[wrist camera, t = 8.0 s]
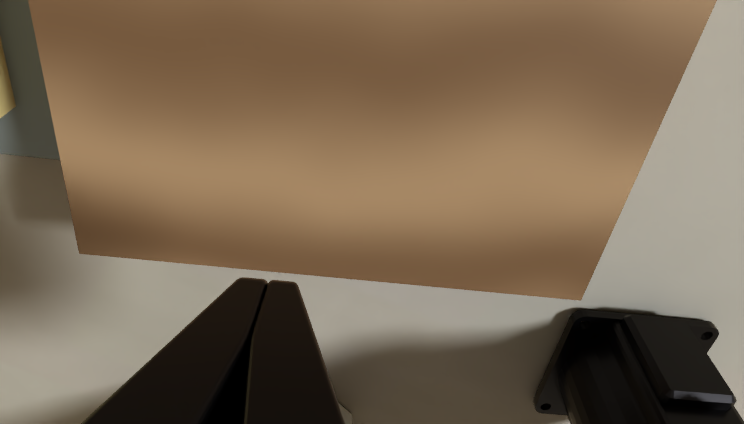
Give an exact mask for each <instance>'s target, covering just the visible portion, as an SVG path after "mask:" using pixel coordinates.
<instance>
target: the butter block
mask: <svg viewBox="0 0 744 424" xmlns="http://www.w3.org/2000/svg"><path fill="white" fill-rule="evenodd" d="M14 107H16V105H15V100H14V96H13V91H12V87H11V82H10V78H9V73H8V69H7V65H6V60H5V56H4V51H3V47H2V42H1V38H0V118H1V117H3V116H4V115H5V114H7V113H8V112H9V111H10V110H12V109H13V108H14Z"/></svg>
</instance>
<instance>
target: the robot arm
mask: <svg viewBox="0 0 744 424" xmlns="http://www.w3.org/2000/svg"><path fill="white" fill-rule="evenodd" d="M582 321H584V322H582ZM718 335H719V332H718V330H717V328H716V327H715V325H714V324H713V323H712V322H709V321H702V320H691V319H681V318H670V317H659V316H648V315H637V314H626V313H615V312H605V311H594V310H579V311H576V312H575V313H573V314H572V316H571V317H570V319H569V321H568V323H567V326H566V328H565V330H564V332H563V335H562V337H561V339H560V341H559V344H558V346H557V348H556V350H555V352H554V355H553V357H552V359H551V361H550V364H549V366H548V368H547V370H546V373H545V375H544V377H543V379H542V381H541V384H540V386H539V388H538V390H537V393H536V395H535V397H534V400H533V403H534V406H535V409H536V411H537V412H539V413H545V414H558V415H568V418H569V421H570V424H744V421H743V419H742V418H741V416H740V415H739V413H738V412H737V410H736V409H735V407H734V404H735V402H736V398H735V396H734V394H733V393H732V391H731V390H730V388H729V387H728V385H727V384H726V382H725V381H724V379H723V378H722V376H721V375H720V373H719V371H718V370H717V368H716V367H715V365H714V364H713V362H712V361H711V359H710V358H709V356H708V355H707V352H708V351H709V349H710V348H711V346H712V345H713V343H714V342H715V340H716V339H717V337H718ZM81 424H345V421H344V418H343V415H342V412H341V409H340V406H339V404H338V401H337V398H336V395H335V392H334V389H333V386H332V383H331V380H330V377H329V374H328V372H327V369H326V366H325V363H324V360H323V357H322V354H321V351H320V348H319V345H318V343H317V340H316V337H315V334H314V331H313V328H312V325H311V322H310V319H309V316H308V313H307V311H306V308H305V305H304V302H303V299H302V296H301V293H300V290H299V287H298V285H297V284H296V283H295V282H289V281H278V280H272V281H270V282H269V283H267V281H266V280H264V279H255V278H239V279H237V280H236V281H235V282H234V283H233V284H232V285H231V286H230V287H228V288H227V289H226V290H225V291H224V292H223V293H222V294H221V295H220V296H219V297H218V298H217V299H216V300H214V301H213V302H212V303H211V304H210V305H209V306H208V307H207V308H206V309H205V310H204V311H203V312H201V313H200V314H199V315H198V316H197V317H196V318H195V319H194V320H193V321H192V322H191V323H190V324H188V325H187V326H186V327H185V328H184V329H183V330H182V331H181V332H180V333H179V334H178V335H177V336H175V337H174V338H173V339H172V340H171V341H170V342H169V343H168V344H167V345H166V346H165V347H164V348H163V349H161V350H160V351H159V352H158V353H157V354H156V355H155V356H154V357H153V358H152V359H151V360H150V361H148V362H147V363H146V364H145V365H144V366H143V367H142V368H141V369H140V370H139V371H138V372H137V373H135V374H134V375H133V376H132V377H131V378H130V379H129V380H128V381H127V382H126V383H125V384H124V385H122V386H121V387H120V388H119V389H118V390H117V391H116V392H115V393H114V394H113V395H112V396H111V397H109V398H108V399H107V400H106V401H105V402H104V403H103V404H102V405H101V406H100V407H99V408H98V409H97V410H95V411H94V412H93V413H92V414H91V415H90V416H89V417H88V418H87V419H86V420H85V421H84V422H82V423H81Z"/></svg>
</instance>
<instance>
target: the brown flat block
mask: <svg viewBox="0 0 744 424" xmlns="http://www.w3.org/2000/svg"><path fill="white" fill-rule="evenodd" d="M716 1H717V0H28V2H29V7H30V12H31V17H32V22H33V27H34V32H35V37H36V42H37V47H38V52H39V57H40V62H41V67H42V72H43V77H44V82H45V87H46V92H47V97H48V101H49V106H50V111H51V116H52V121H53V126H54V131H55V136H56V141H57V146H58V151H59V156H60V161H61V166H62V171H63V176H64V181H65V186H66V191H67V196H68V201H69V205H70V210H71V215H72V220H73V225H74V230H75V235H76V240H77V245H78V250H79V254H89V255H100V256H111V257H121V258H132V259H143V260H154V261H164V262H175V263H186V264H196V265H207V266H218V267H228V268H239V269H250V270H261V271H271V272H282V273H293V274H303V275H314V276H325V277H336V278H346V279H357V280H368V281H378V282H389V283H400V284H410V285H421V286H432V287H443V288H453V289H464V290H475V291H485V292H496V293H507V294H518V295H528V296H539V297H550V298H560V299H571V300H581V299H582V297H583V295H584V293H585V290H586V288H587V286H588V284H589V282H590V279H591V277H592V275H593V273H594V270H595V268H596V266H597V264H598V262H599V259H600V257H601V255H602V253H603V251H604V248H605V246H606V244H607V242H608V240H609V237H610V235H611V233H612V231H613V229H614V226H615V224H616V222H617V220H618V217H619V215H620V213H621V211H622V209H623V206H624V204H625V202H626V200H627V198H628V195H629V193H630V191H631V189H632V187H633V184H634V182H635V180H636V178H637V176H638V173H639V171H640V169H641V167H642V164H643V162H644V160H645V158H646V156H647V153H648V151H649V149H650V147H651V145H652V142H653V140H654V138H655V136H656V134H657V131H658V129H659V127H660V125H661V123H662V120H663V118H664V116H665V114H666V111H667V109H668V107H669V105H670V103H671V100H672V98H673V96H674V94H675V92H676V89H677V87H678V85H679V83H680V81H681V78H682V76H683V74H684V72H685V70H686V67H687V65H688V63H689V61H690V58H691V56H692V54H693V52H694V50H695V47H696V45H697V43H698V41H699V39H700V36H701V34H702V32H703V30H704V28H705V25H706V23H707V21H708V19H709V17H710V14H711V12H712V10H713V8H714V5H715V3H716Z"/></svg>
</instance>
